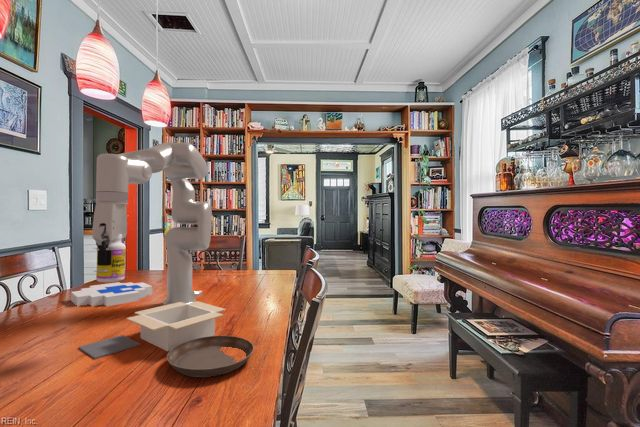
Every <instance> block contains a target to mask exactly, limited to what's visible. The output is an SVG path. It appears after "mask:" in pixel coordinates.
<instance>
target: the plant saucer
mask: <svg viewBox="0 0 640 427" xmlns="http://www.w3.org/2000/svg"><path fill="white" fill-rule="evenodd" d="M221 347H232V348H238V349H241V350H243V351H244V352H245V353H246V358H244V359H242V360H240V361H238V362H235V361H236V360H235V359H234V358H235V357H234V356H233V357H234V358H233V357H232V356H228V355H226V354H224V352H223V351H222V350H221V351H220V348H221ZM254 351H255V346H254V344H253V343H252V342H251V341H250V340H248V339H245V338H243V337H239V336H233V335H213V336H209V337H202V338H197V339H193V340H190V341H187V342H184V343H182V344H179V345H177V346H176V347H174V348H173V349H171V350H170V351H168V353H167V354H166V360H167V362H168V363H169V365H170V366H171V367H172V368H173V369H174V370H175V371H176V372H178V373H180V374H182V375H184V376H187V377H192V378H212V377H211V376H213V377H218V376H222V375H221V374H223V375H226V374H228V372H229V373H231V372H233V370H234V371H236V370H237V369H239V368H241V366H243V365H244V364H245V363H246V362H247V361H248V360H249V358H250V357H252V354H253V352H254ZM231 357H232V358H231ZM234 360H235V361H234ZM233 361H234V362H233ZM235 369H236V370H235ZM230 371H231V372H230ZM225 373H226V374H225ZM217 375H218V376H217Z"/></svg>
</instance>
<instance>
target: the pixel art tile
mask: <svg viewBox="0 0 640 427" xmlns="http://www.w3.org/2000/svg"><path fill="white" fill-rule="evenodd" d="M150 295H153V286H152V284H151V285H150V284H148V283H146V282H143V281H141V282H136V283H134V282H122V283H121V282H120V281H116V282H108V283H104V284H103V283H101V284H94V285H89V287H85V288H84V287H83V288H80V290H75V291H71V292H70V302H72V303H73V304H74V305H75V306H76V305H77V306H76V307H81V306H80V305H82V306H87V304H88V305H90V307H96V306H102V305H104V306H105V307H111V306H117V305H122V304H128V303H134V302H140V299H144V298H146V297H147V296H150Z"/></svg>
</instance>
